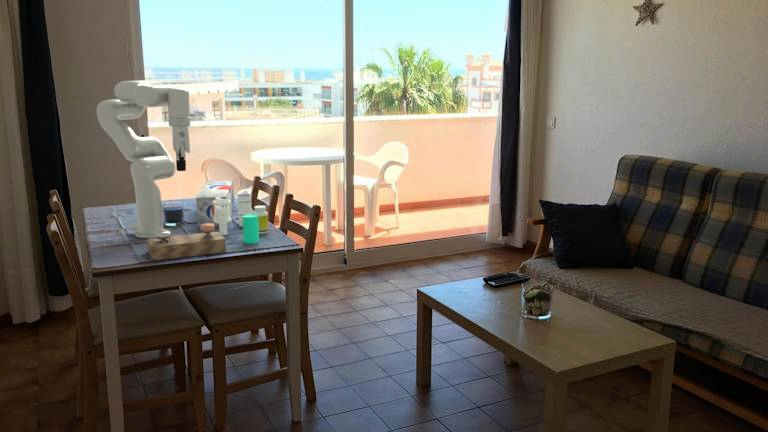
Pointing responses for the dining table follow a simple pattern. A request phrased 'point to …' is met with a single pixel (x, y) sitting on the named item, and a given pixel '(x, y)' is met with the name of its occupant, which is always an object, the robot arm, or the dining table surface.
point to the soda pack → (208, 196)
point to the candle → (250, 229)
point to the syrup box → (244, 205)
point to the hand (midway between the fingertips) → (181, 170)
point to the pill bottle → (262, 219)
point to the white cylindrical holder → (222, 214)
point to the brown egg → (207, 229)
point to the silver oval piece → (163, 235)
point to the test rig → (186, 246)
